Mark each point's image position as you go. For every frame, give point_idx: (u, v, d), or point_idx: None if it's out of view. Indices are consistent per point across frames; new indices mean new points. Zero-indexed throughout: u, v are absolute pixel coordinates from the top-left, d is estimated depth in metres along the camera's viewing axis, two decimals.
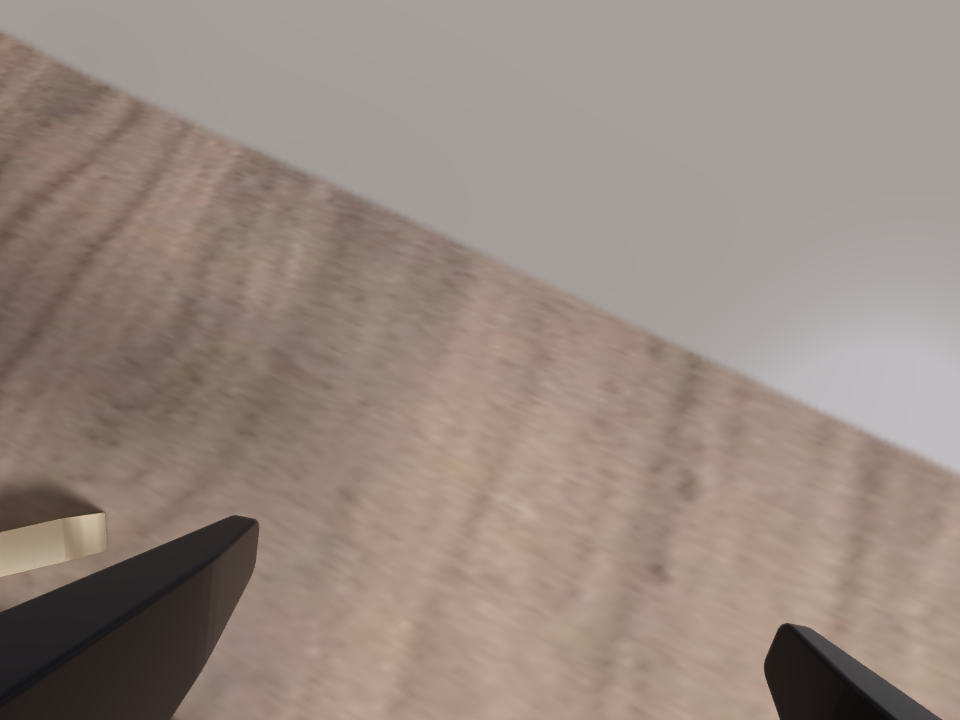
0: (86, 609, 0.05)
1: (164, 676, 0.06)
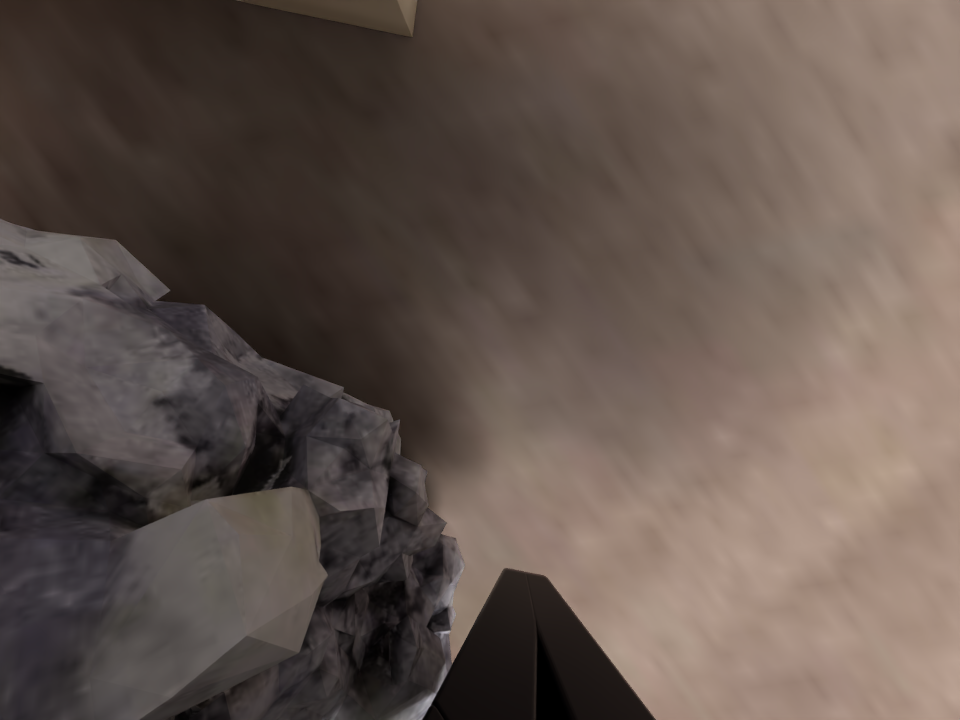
0: (500, 688, 0.05)
1: None
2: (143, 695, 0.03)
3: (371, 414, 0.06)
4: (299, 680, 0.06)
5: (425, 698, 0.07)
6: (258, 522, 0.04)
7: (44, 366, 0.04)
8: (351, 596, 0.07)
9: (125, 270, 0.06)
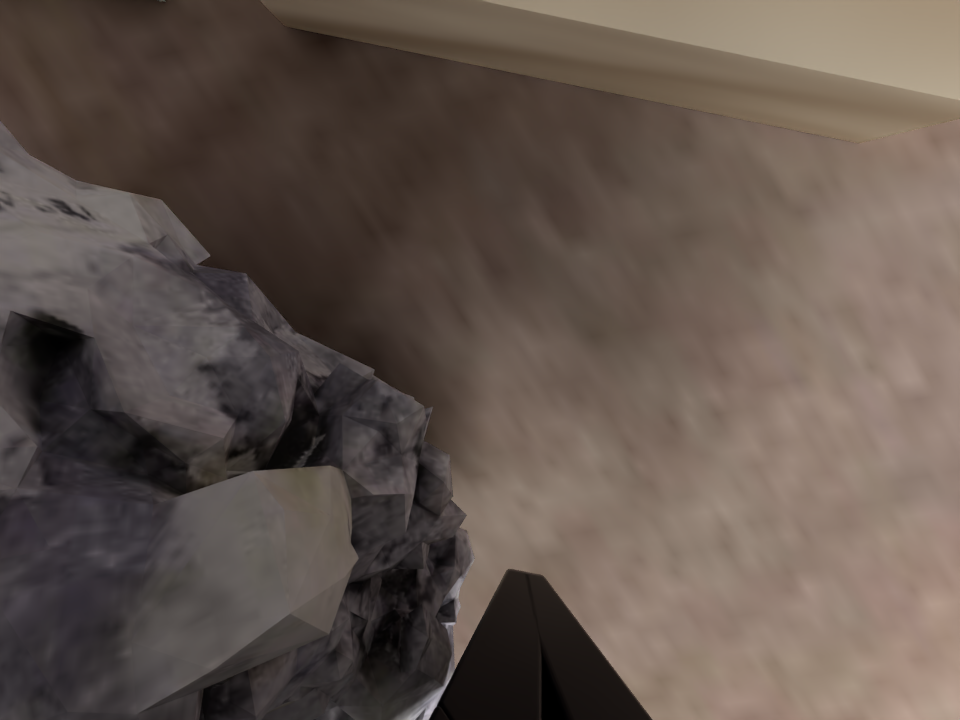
0: (505, 689, 0.05)
1: None
2: (184, 665, 0.03)
3: (408, 399, 0.06)
4: (316, 660, 0.05)
5: (430, 687, 0.07)
6: (299, 498, 0.04)
7: (95, 322, 0.04)
8: (367, 580, 0.07)
9: (169, 231, 0.06)
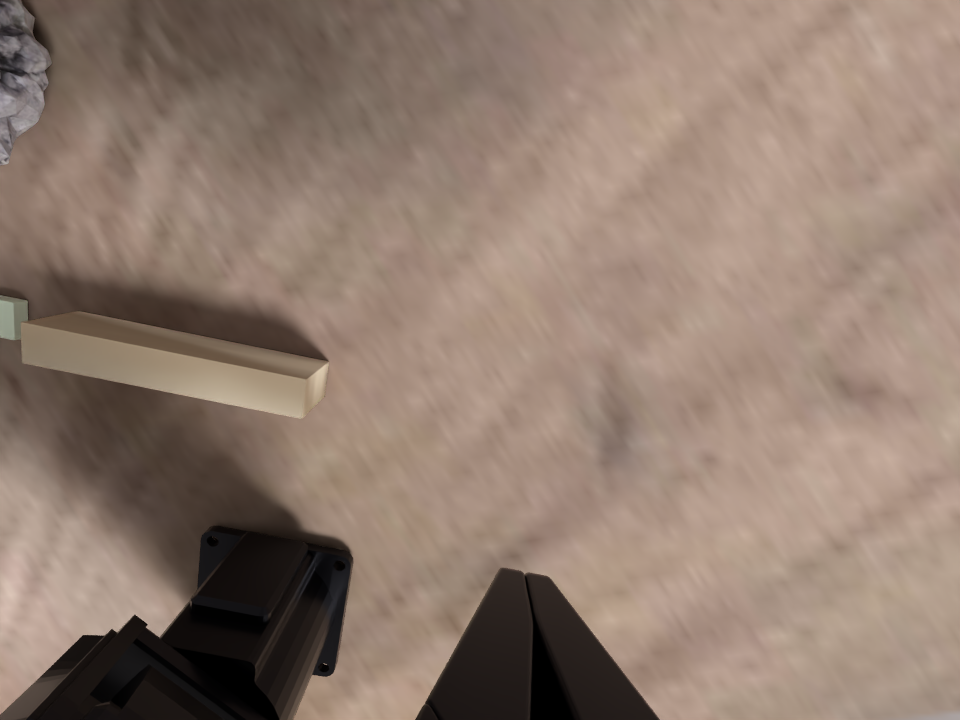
0: (494, 687, 0.05)
1: None
2: None
3: None
4: None
5: None
6: None
7: None
8: None
9: None
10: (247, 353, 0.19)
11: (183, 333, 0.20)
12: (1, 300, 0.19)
